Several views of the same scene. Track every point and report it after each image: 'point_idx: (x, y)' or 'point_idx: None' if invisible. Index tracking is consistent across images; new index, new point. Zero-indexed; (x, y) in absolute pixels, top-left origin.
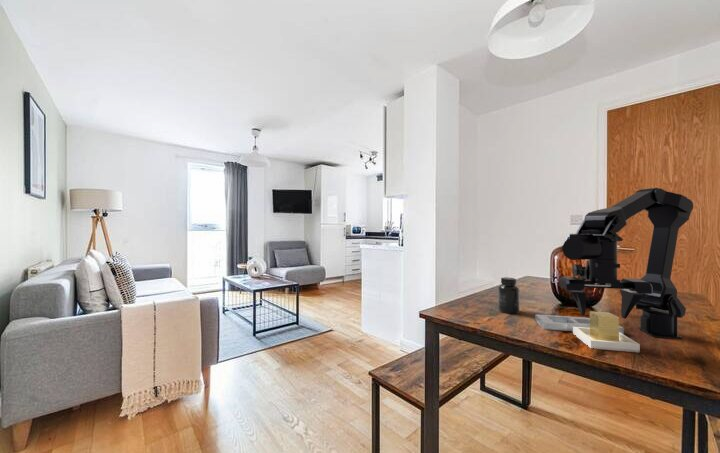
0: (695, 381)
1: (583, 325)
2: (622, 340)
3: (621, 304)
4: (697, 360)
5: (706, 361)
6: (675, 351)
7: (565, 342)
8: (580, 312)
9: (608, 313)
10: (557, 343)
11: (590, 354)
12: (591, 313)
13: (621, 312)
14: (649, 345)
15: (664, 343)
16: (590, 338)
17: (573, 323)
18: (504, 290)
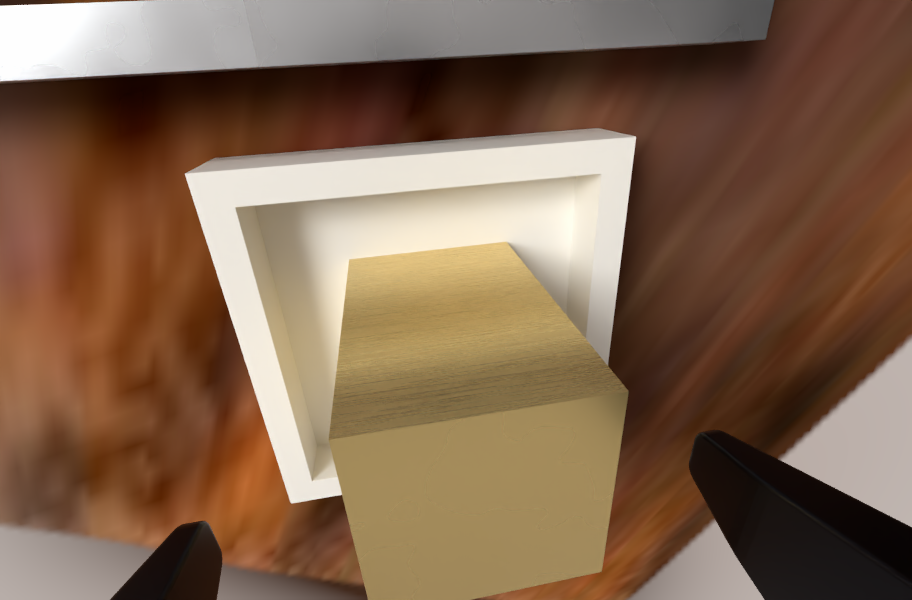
0: (596, 594)
1: (333, 60)
2: (571, 297)
3: (902, 577)
4: (791, 406)
5: (821, 403)
6: (797, 318)
7: (130, 415)
8: (152, 566)
9: (581, 455)
10: (67, 455)
11: (274, 534)
12: (342, 471)
13: (748, 478)
14: (726, 262)
15: (867, 180)
16: (299, 465)
17: (205, 7)
18: None
